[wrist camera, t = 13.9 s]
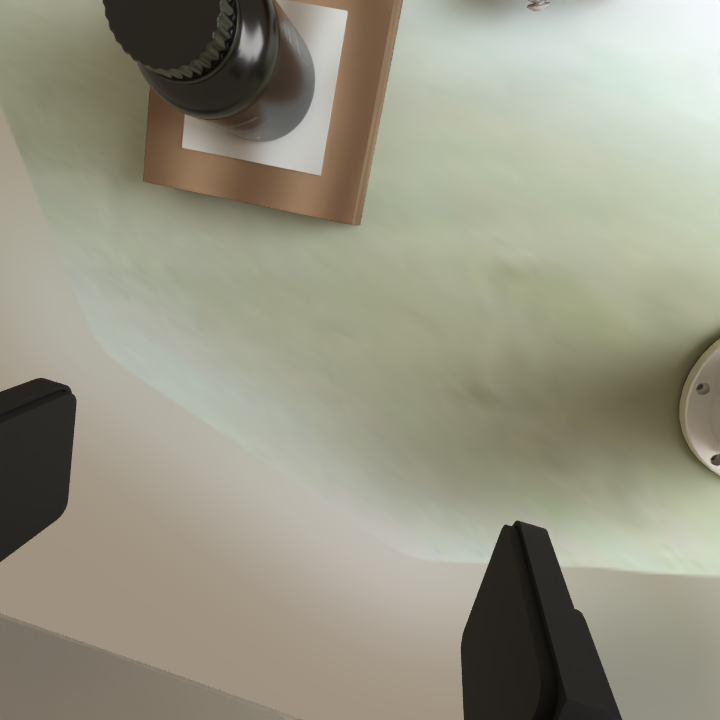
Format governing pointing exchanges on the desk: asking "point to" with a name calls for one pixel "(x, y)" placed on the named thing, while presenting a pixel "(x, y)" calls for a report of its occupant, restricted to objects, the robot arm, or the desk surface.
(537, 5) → the video game controller
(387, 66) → the brown picture frame
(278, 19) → the supplement bottle
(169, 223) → the desk surface
